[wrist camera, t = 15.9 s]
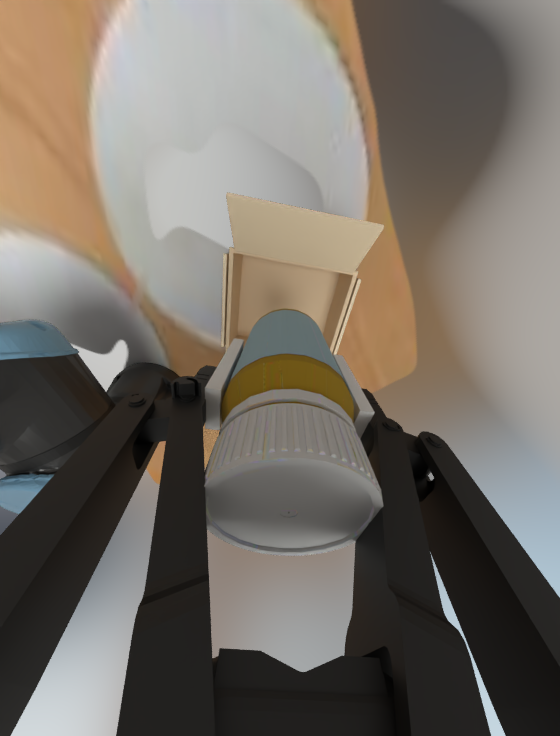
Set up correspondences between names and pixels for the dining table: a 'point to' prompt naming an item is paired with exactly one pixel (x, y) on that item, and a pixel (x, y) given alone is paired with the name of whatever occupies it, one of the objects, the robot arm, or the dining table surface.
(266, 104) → the dining table surface
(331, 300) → the carton
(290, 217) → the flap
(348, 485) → the bottle
